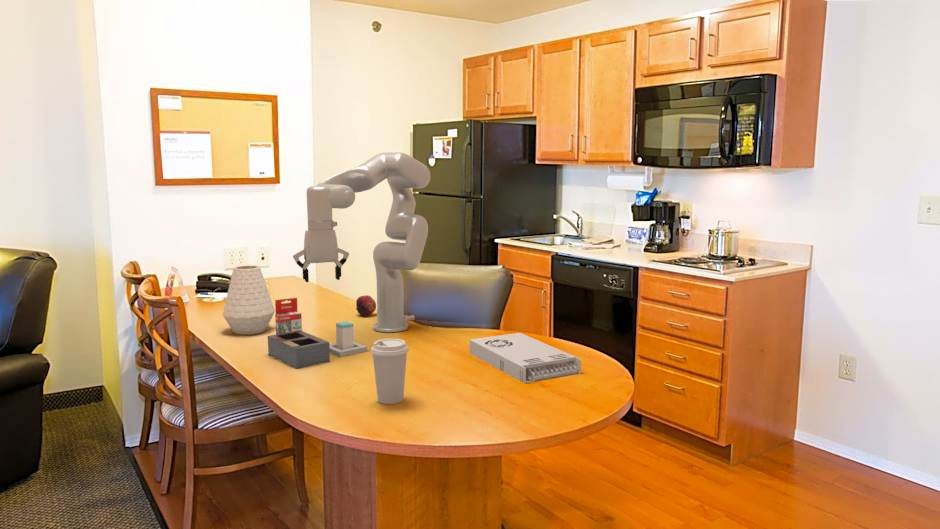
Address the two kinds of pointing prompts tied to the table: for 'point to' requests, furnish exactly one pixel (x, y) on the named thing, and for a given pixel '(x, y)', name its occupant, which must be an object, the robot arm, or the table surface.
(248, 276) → the vase
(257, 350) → the table surface
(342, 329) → the plug
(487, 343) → the power supply unit
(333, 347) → the white square frame
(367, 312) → the fruit
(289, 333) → the port block
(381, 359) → the coffee cup
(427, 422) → the table surface
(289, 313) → the ink box
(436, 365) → the table surface
